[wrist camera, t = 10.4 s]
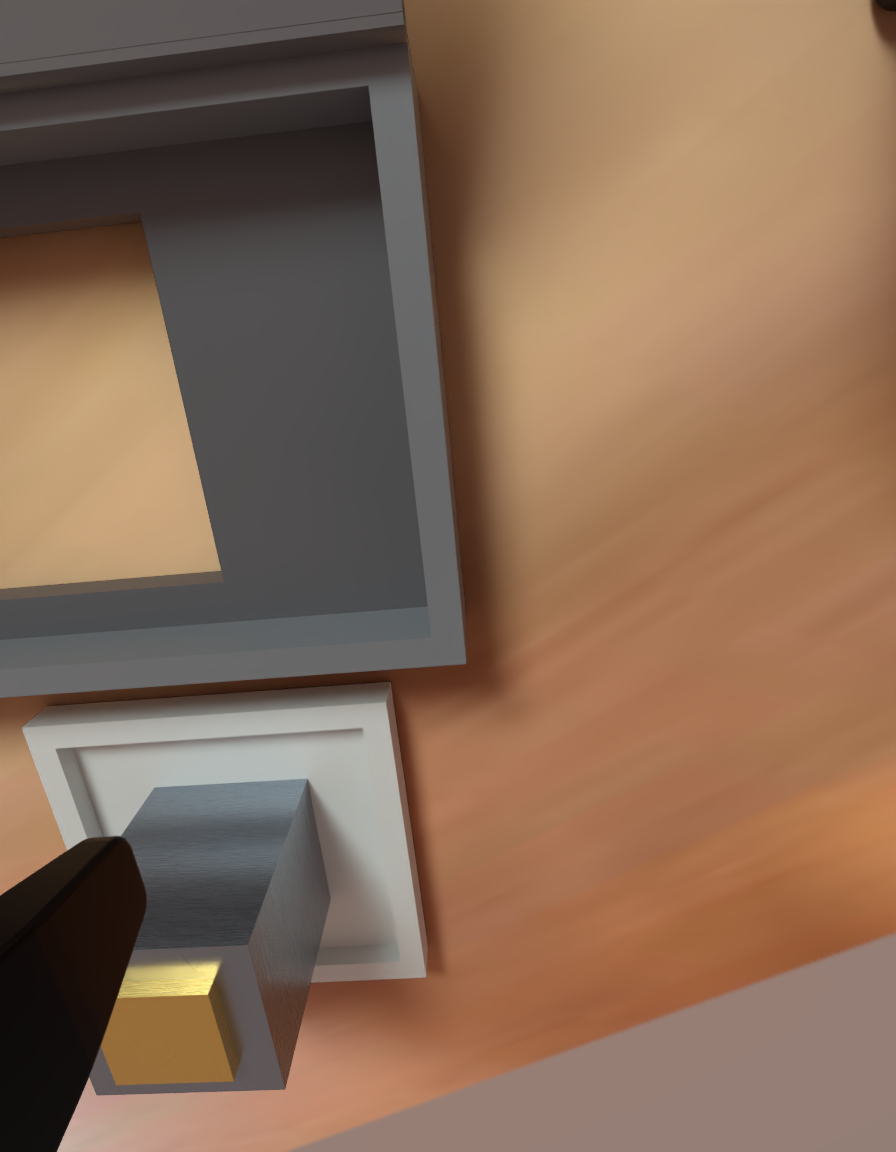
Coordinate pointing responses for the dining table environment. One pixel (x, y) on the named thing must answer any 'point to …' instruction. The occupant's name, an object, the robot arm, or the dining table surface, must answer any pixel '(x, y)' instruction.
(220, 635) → the case
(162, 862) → the module
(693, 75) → the dining table surface
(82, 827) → the tray
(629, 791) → the dining table surface
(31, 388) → the dining table surface
